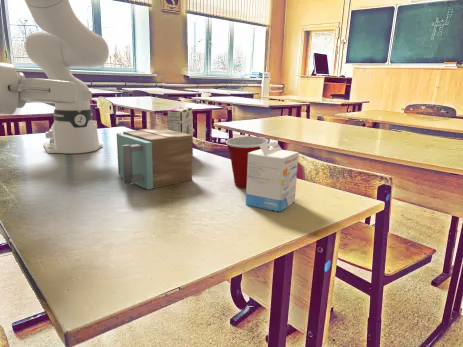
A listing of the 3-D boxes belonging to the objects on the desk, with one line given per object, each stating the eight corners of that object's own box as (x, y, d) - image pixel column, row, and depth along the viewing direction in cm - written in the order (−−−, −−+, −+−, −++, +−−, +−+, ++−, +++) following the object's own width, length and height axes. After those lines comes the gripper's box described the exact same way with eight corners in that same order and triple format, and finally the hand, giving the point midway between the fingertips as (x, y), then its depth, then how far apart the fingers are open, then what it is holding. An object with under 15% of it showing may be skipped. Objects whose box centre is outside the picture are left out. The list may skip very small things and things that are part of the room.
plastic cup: (216, 182, 94) (217, 137, 91) (249, 177, 100) (251, 134, 97) (240, 194, 85) (242, 144, 82) (274, 187, 91) (277, 141, 88)
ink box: (279, 213, 75) (284, 150, 71) (244, 204, 79) (247, 144, 75) (295, 201, 82) (300, 143, 78) (262, 194, 86) (265, 139, 82)
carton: (125, 175, 98) (123, 131, 94) (163, 169, 106) (162, 127, 102) (152, 188, 88) (151, 138, 84) (192, 179, 96) (192, 134, 92)
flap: (100, 177, 94) (98, 135, 91) (122, 174, 98) (120, 133, 95) (130, 193, 83) (127, 145, 80) (153, 188, 87) (151, 142, 84)
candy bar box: (179, 154, 125) (179, 106, 120) (193, 155, 124) (193, 107, 120) (167, 161, 114) (166, 109, 110) (182, 163, 113) (182, 110, 109)
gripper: (21, 65, 55) (105, 77, 65) (-18, 72, 68) (57, 81, 78) (21, 108, 55) (105, 113, 66) (-17, 105, 69) (57, 110, 79)
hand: (78, 95), depth 72 cm, fingers open, 8 cm apart
